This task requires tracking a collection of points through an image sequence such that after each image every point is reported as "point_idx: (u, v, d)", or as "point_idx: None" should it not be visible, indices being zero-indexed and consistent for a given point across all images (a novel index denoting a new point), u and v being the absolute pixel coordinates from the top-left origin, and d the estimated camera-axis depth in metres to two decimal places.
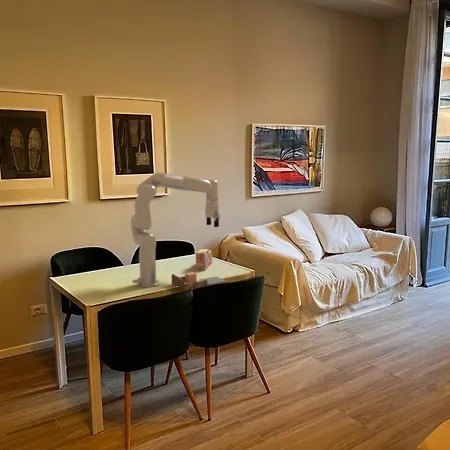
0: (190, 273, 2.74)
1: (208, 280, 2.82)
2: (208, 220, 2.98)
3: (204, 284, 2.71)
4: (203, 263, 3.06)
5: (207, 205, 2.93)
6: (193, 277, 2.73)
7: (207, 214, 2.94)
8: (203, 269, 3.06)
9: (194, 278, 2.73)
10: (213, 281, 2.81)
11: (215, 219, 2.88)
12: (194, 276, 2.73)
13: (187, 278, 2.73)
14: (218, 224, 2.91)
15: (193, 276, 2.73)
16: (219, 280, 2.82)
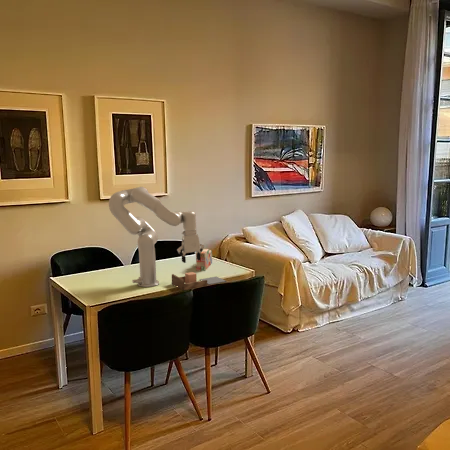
0: (190, 273, 2.74)
1: (208, 280, 2.82)
2: None
3: (204, 284, 2.71)
4: (203, 263, 3.06)
5: (190, 240, 2.68)
6: (193, 277, 2.73)
7: (190, 250, 2.68)
8: (203, 269, 3.07)
9: (194, 278, 2.73)
10: (213, 281, 2.81)
11: (200, 251, 2.74)
12: (194, 276, 2.73)
13: (187, 278, 2.73)
14: None
15: (193, 276, 2.73)
16: (219, 280, 2.82)
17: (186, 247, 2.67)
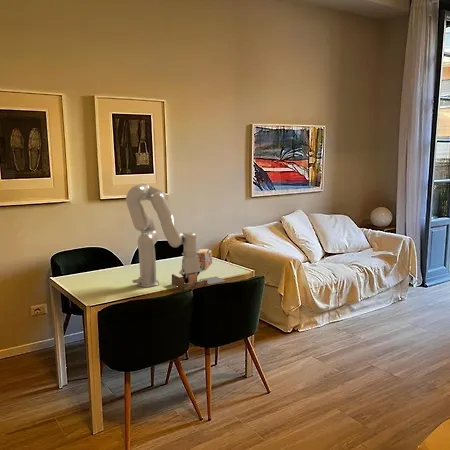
0: (190, 273, 2.74)
1: (208, 280, 2.82)
2: None
3: (204, 284, 2.71)
4: (203, 263, 3.06)
5: (190, 261, 2.70)
6: (193, 277, 2.73)
7: (189, 271, 2.70)
8: (203, 269, 3.07)
9: (194, 278, 2.73)
10: (213, 281, 2.81)
11: (197, 275, 2.75)
12: (194, 276, 2.73)
13: None
14: None
15: (193, 276, 2.73)
16: (219, 280, 2.82)
17: (186, 268, 2.69)
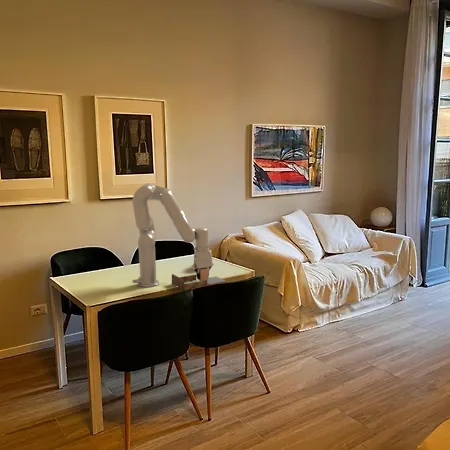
0: (202, 268, 2.78)
1: (208, 280, 2.82)
2: None
3: (204, 284, 2.71)
4: None
5: (202, 256, 2.73)
6: (205, 272, 2.76)
7: (201, 266, 2.74)
8: None
9: (206, 273, 2.77)
10: (213, 281, 2.81)
11: (209, 269, 2.79)
12: (206, 271, 2.77)
13: None
14: None
15: (205, 271, 2.76)
16: (219, 280, 2.82)
17: (198, 263, 2.73)
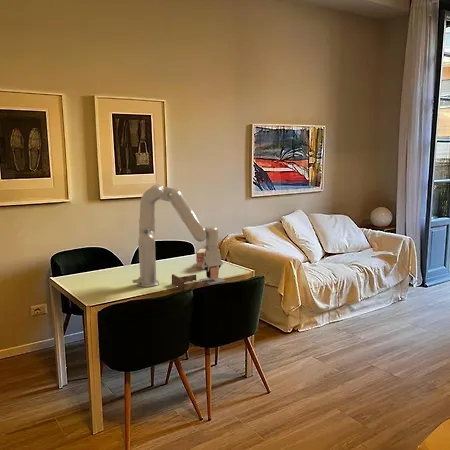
0: None
1: (208, 280, 2.82)
2: None
3: (204, 284, 2.71)
4: None
5: (212, 254, 2.77)
6: (215, 270, 2.80)
7: (211, 264, 2.78)
8: (204, 269, 3.07)
9: (216, 271, 2.80)
10: (213, 281, 2.81)
11: None
12: (216, 269, 2.80)
13: None
14: None
15: (215, 269, 2.80)
16: (219, 280, 2.82)
17: (208, 261, 2.76)
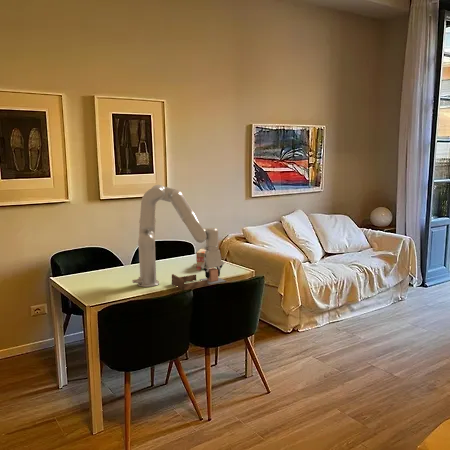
0: (212, 269, 2.82)
1: None
2: None
3: (204, 284, 2.71)
4: None
5: (212, 255, 2.77)
6: (215, 273, 2.80)
7: (212, 265, 2.78)
8: None
9: (216, 273, 2.81)
10: (213, 281, 2.81)
11: (220, 268, 2.83)
12: (216, 272, 2.80)
13: (209, 273, 2.80)
14: None
15: (215, 272, 2.80)
16: (219, 280, 2.82)
17: (208, 262, 2.77)
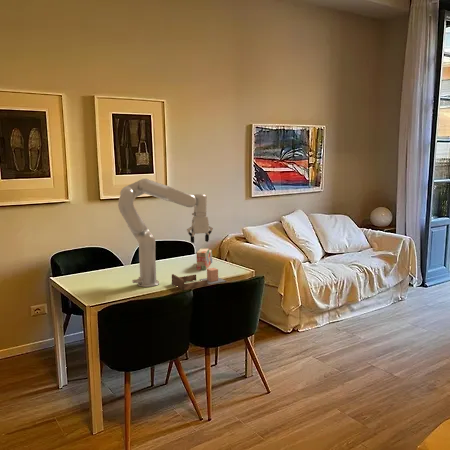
0: (212, 269, 2.82)
1: None
2: None
3: (204, 284, 2.71)
4: (204, 262, 3.07)
5: (200, 221, 2.77)
6: (215, 273, 2.80)
7: (199, 231, 2.78)
8: (204, 268, 3.08)
9: (216, 273, 2.81)
10: (213, 281, 2.81)
11: (209, 233, 2.84)
12: (216, 272, 2.80)
13: (209, 273, 2.80)
14: None
15: (215, 272, 2.80)
16: (219, 280, 2.82)
17: (195, 228, 2.77)
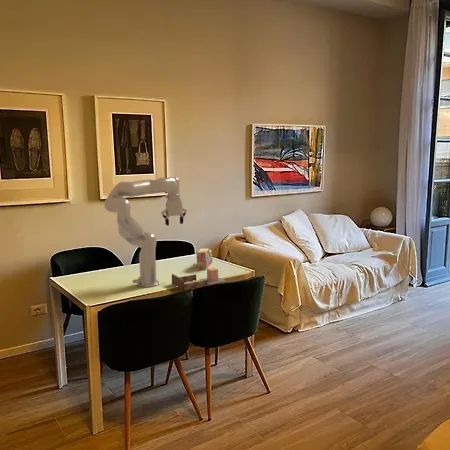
0: (212, 269, 2.82)
1: None
2: None
3: (204, 284, 2.71)
4: (204, 262, 3.07)
5: (173, 204, 2.85)
6: (215, 273, 2.80)
7: (173, 213, 2.85)
8: (204, 268, 3.08)
9: (216, 273, 2.81)
10: (213, 281, 2.81)
11: (183, 215, 2.91)
12: (216, 272, 2.80)
13: (209, 273, 2.80)
14: None
15: (215, 272, 2.80)
16: (219, 280, 2.82)
17: (169, 210, 2.84)
